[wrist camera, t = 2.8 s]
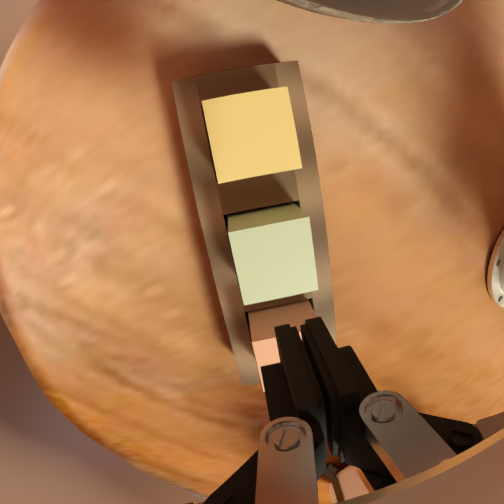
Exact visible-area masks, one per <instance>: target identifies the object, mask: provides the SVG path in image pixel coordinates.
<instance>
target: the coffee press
mask: <svg viewBox="0 0 504 504" xmlns="http://www.w3.org/2000/svg"><path fill="white" fill-rule="evenodd" d="M323 474H324V475H325V476H326V477H327V478H328V479H329V480H330V481H331V482H330V485H329V493H330V497H331V501H332V504H334V503H338V502H342V501H345V500H348V499H352V498H355V497H358V496H361V495H364V494H367V493H369V491H368V490H367V488H366V487H365V485H364V483H363V482H362V480H361V479H360V477H359V475H358V474H357V472H356V469H355V467H354V466H351V465H350V466H348V467H346V468H344V469H343V470H340V469H338V468H337V467H335V466H334V465H333V464H327V465H326V470H325V471H324V473H323ZM334 474H336V476H335V475H334Z"/></svg>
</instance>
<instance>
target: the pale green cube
mask: <svg viewBox="0 0 504 504" xmlns="http://www.w3.org/2000/svg"><path fill="white" fill-rule="evenodd" d="M228 235H229V240H230V244H231V249H232V254H233V258H234V263H235V267H236V272H237V276H238V281H239V285H240V290H241V294H242V299H243V303H244V305H249V304H254V303H259V302H264V301H269V300H274V299H279V298H284V297H288V296H293V295H298V294H302V293H307V292H312V291H316V290H318V281H317V273H316V264H315V256H314V248H313V241H312V233H311V226H310V219H309V216H308V215H307V214H306V213H305V212H303V211H302V210H301V209H300V208H299V207H298V206H297V205H296V204H295V203H288V204H283V205H278V206H272V207H267V208H262V209H257V210H252V211H246V212H241V213H236V214H232V215H228Z"/></svg>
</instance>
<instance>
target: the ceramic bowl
mask: <svg viewBox="0 0 504 504" xmlns="http://www.w3.org/2000/svg"><path fill="white" fill-rule="evenodd" d="M278 1H280V2H283V3H286V4H289V5H292V6H294V7H298V8H301V9H304V10H308V11H311V12H314V13H319V14H323V15H328V16H332V17H337V18H343V19H349V20H353V21H359V22H363V23H419V22H423V21H427V20H432V19H434V18H436V17H439V16H441V15H444V14H446V13H448V12H449V11H451V10H453V9H454V8H456V7H457V6H458V5H459V4H460V3H461V2H462V1H463V0H278Z"/></svg>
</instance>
